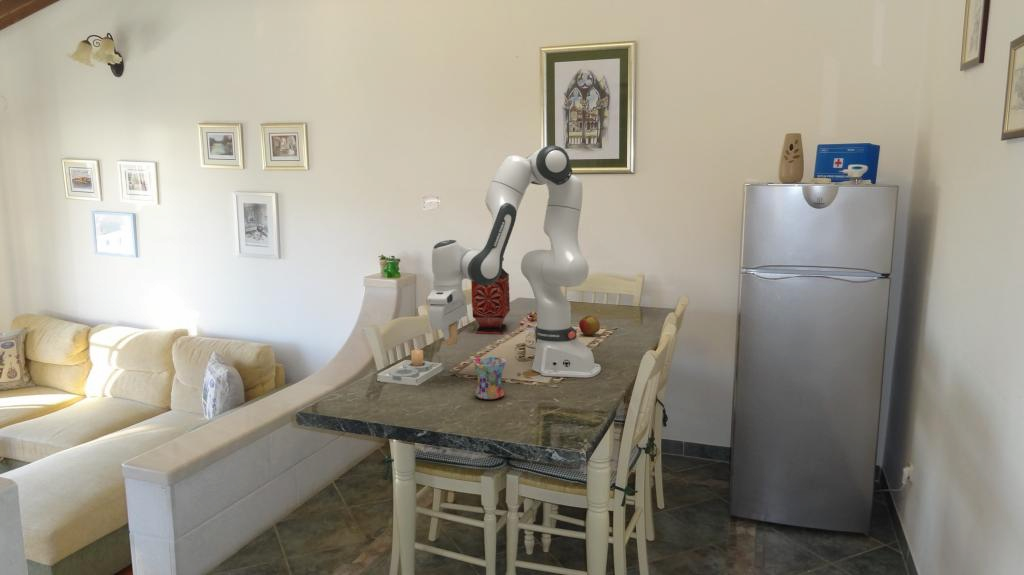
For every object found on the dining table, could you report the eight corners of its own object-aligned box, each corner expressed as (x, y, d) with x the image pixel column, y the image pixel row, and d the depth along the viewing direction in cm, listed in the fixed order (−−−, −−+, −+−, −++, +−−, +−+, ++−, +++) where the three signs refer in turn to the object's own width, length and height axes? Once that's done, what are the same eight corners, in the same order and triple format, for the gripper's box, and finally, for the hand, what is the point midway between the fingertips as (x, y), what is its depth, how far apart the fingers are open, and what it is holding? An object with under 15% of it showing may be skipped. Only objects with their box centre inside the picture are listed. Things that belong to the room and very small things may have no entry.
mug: (502, 402, 190) (501, 366, 188) (470, 400, 191) (469, 364, 190) (510, 389, 201) (510, 355, 200) (480, 387, 203) (479, 353, 201)
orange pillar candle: (459, 342, 212) (458, 323, 211) (454, 345, 209) (452, 326, 208) (448, 341, 214) (446, 323, 213) (442, 344, 210) (441, 325, 209)
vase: (478, 327, 286) (477, 256, 281) (510, 327, 284) (509, 256, 279) (471, 334, 272) (470, 260, 267) (505, 335, 270) (504, 261, 266)
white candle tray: (443, 370, 222) (442, 349, 221) (417, 385, 206) (416, 363, 205) (405, 366, 227) (404, 346, 226) (377, 381, 210) (376, 359, 209)
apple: (585, 332, 275) (585, 313, 273) (602, 335, 270) (603, 315, 269) (575, 336, 268) (575, 316, 267) (593, 338, 264) (593, 318, 263)
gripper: (452, 286, 219) (455, 328, 222) (424, 299, 200) (427, 344, 203) (470, 287, 217) (473, 328, 219) (443, 300, 198) (446, 345, 201)
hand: (450, 336), depth 211 cm, fingers closed on orange pillar candle, 4 cm apart
